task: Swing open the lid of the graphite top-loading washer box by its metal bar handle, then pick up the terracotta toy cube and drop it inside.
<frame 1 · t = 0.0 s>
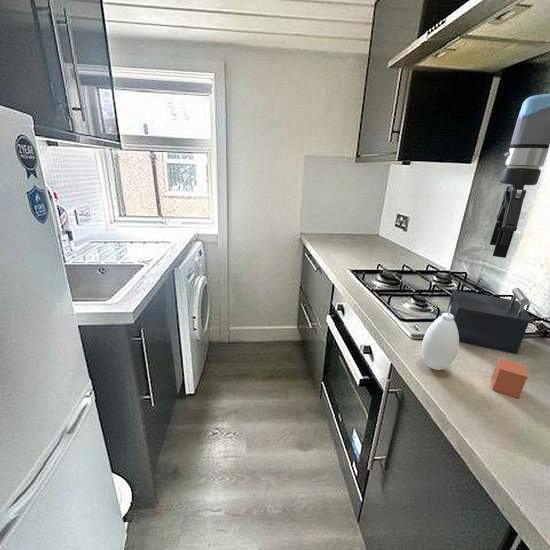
hand: (496, 250, 82), 27 cm above the counter, tool pointing down, fingers open, 13 cm apart
washer: (477, 335, 93), on the counter
sauce bottle: (433, 368, 78), on the counter
terracotta toy cube: (504, 387, 71), on the counter
washer lid: (491, 297, 88), point 13 cm above the counter, hinge at 0.0°
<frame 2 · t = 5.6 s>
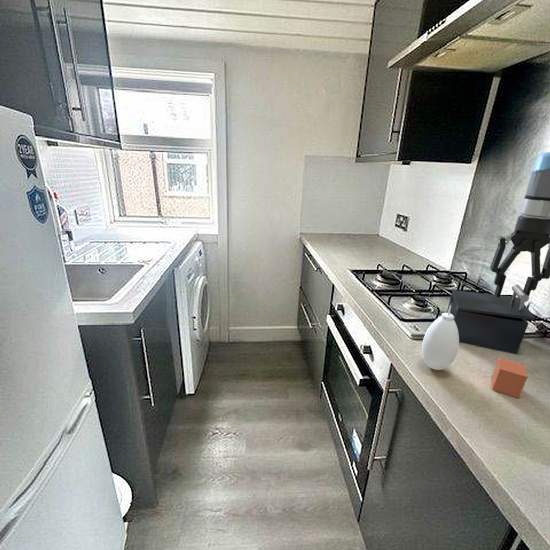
hand: (510, 297, 86), 14 cm above the counter, tool pointing down, fingers open, 6 cm apart
washer lid: (490, 295, 88), point 13 cm above the counter, hinge at 3.8°, touching gripper
everything else where it was.
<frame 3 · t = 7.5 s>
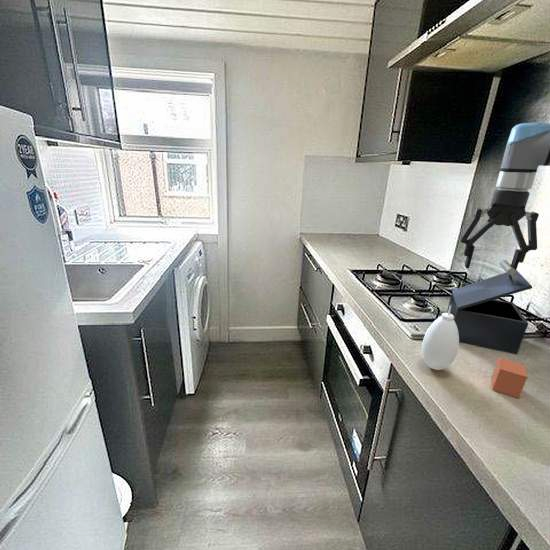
hand: (488, 269, 86), 21 cm above the counter, tool pointing down, fingers open, 10 cm apart
washer lid: (484, 281, 88), point 17 cm above the counter, hinge at 33.7°, touching gripper
everything else where it was.
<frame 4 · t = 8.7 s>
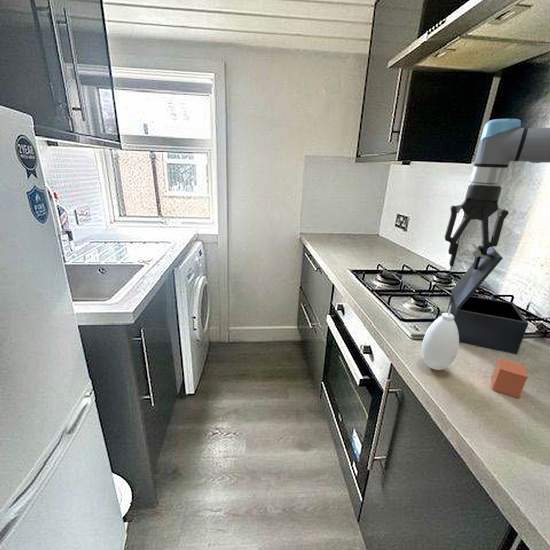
hand: (462, 266, 89), 21 cm above the counter, tool pointing down, fingers open, 5 cm apart
washer lid: (465, 272, 89), point 20 cm above the counter, hinge at 68.8°, touching gripper
everything else where it was.
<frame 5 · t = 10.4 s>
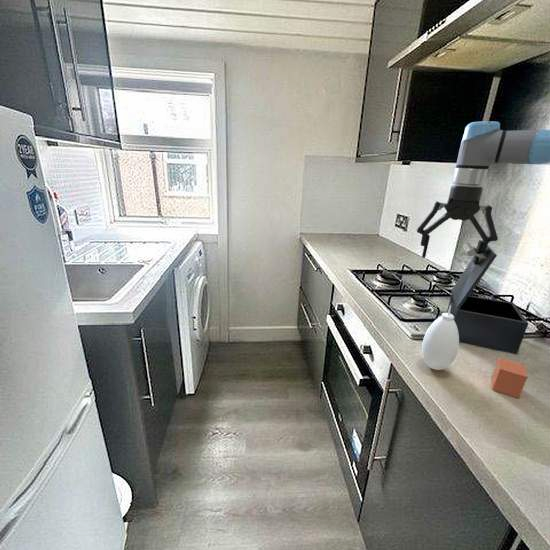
hand: (448, 260, 89), 22 cm above the counter, tool pointing down, fingers open, 13 cm apart
washer lid: (462, 271, 89), point 20 cm above the counter, hinge at 73.6°, touching gripper
everything else where it was.
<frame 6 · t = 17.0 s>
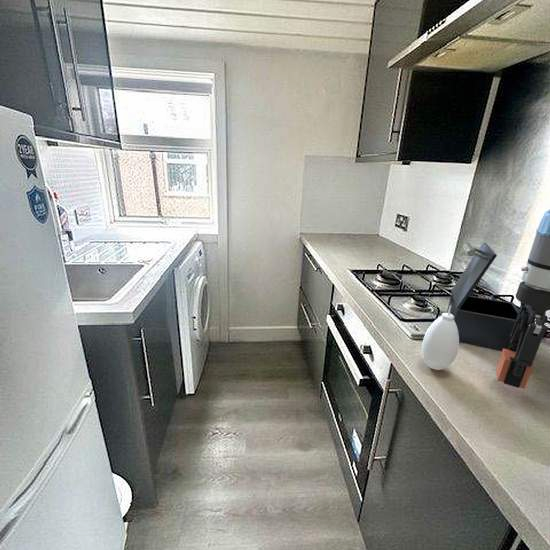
hand: (509, 377, 70), 3 cm above the counter, tool pointing down, fingers closed on terracotta toy cube, 5 cm apart
terracotta toy cube: (509, 378, 70), point 3 cm above the counter, touching gripper
washer lid: (462, 271, 89), point 20 cm above the counter, hinge at 73.6°
everything else where it was.
when the fingers open (12 cm above the counter, at t = 22.7 s): terracotta toy cube drops 11 cm, resting on washer.
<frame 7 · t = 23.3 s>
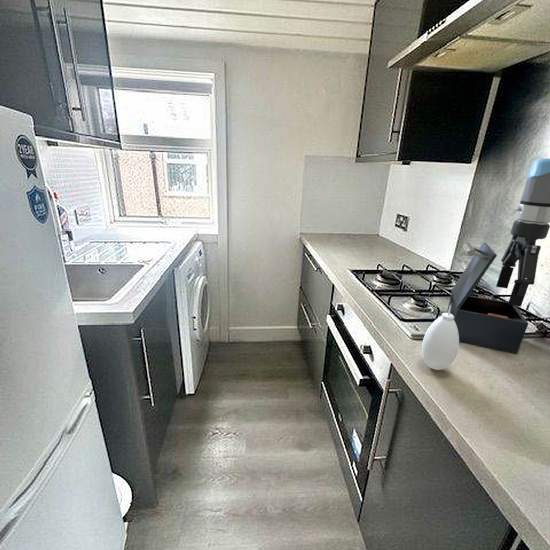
hand: (507, 295, 86), 14 cm above the counter, tool pointing down, fingers open, 13 cm apart
terracotta toy cube: (493, 335, 91), point 1 cm above the counter, touching washer
everything else where it was.
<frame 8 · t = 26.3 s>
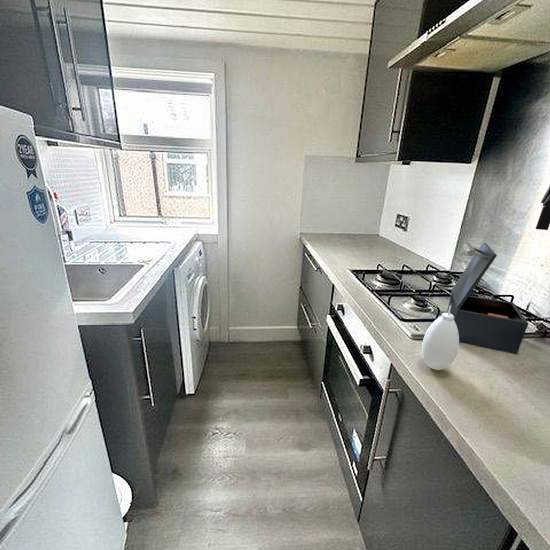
nothing on the counter moved.
at the end: washer lid at +74° (first picture: +0°); terracotta toy cube inside the target area in the washer (4.0 cm from its centre), point 0.9 cm above the washer's base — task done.
